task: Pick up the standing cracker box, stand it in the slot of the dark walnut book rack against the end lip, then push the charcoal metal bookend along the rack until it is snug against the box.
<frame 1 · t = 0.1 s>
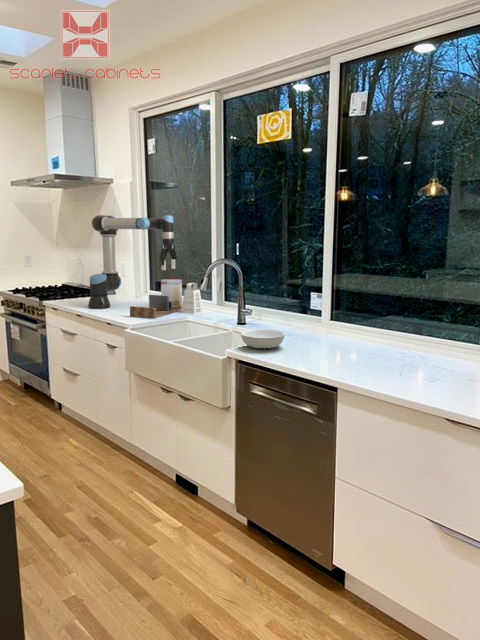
hand: (168, 269, 329), 28 cm above the countertop, tool pointing down, fingers open, 13 cm apart
cracker box: (172, 309, 336), on the countertop
serving bowl: (262, 347, 228), on the countertop
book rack: (154, 313, 315), on the countertop
grater: (192, 312, 322), on the countertop
bookend: (161, 301, 322), point 7 cm above the countertop, slide at 0.0 cm
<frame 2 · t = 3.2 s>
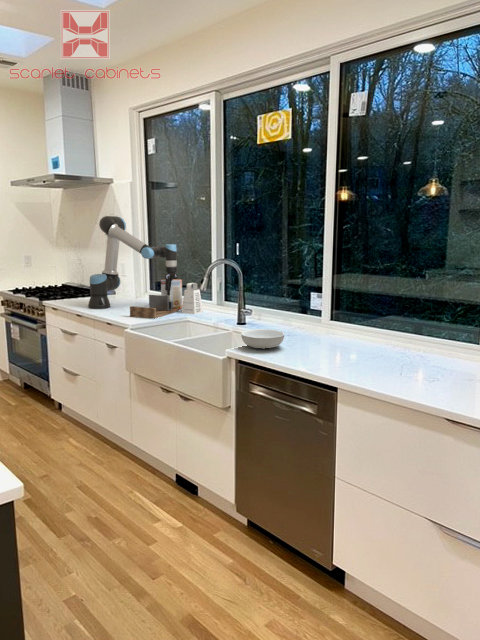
hand: (171, 298, 335), 7 cm above the countertop, tool pointing down, fingers closed on cracker box, 7 cm apart
cracker box: (172, 309, 336), on the countertop, touching gripper
everything else where it was.
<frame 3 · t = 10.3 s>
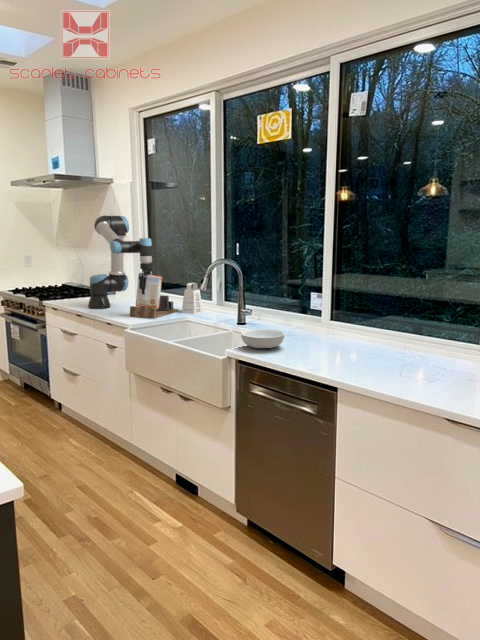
hand: (147, 298, 304), 11 cm above the countertop, tool pointing down, fingers closed on cracker box, 7 cm apart
cracker box: (147, 307, 305), point 6 cm above the countertop, touching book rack, gripper
everything else where it was.
when the fingers open (11 cm above the countertop, at t = 10.6 s): cracker box drops 4 cm, resting on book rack.
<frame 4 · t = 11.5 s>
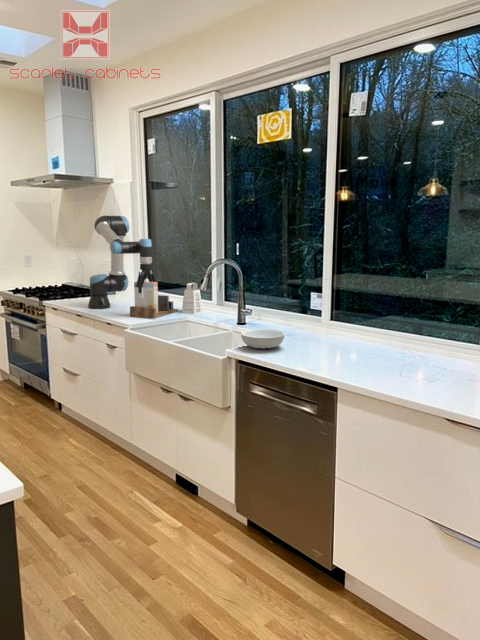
hand: (146, 296, 304), 13 cm above the countertop, tool pointing down, fingers open, 13 cm apart
cracker box: (146, 314, 306), point 1 cm above the countertop, touching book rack
everything else where it was.
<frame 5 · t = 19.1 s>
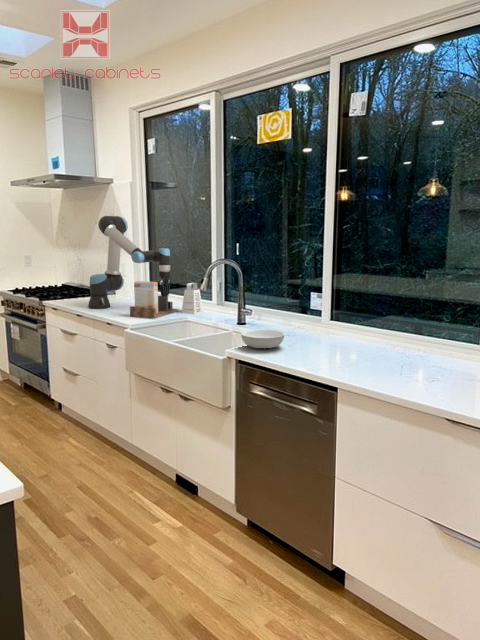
hand: (165, 305, 327), 4 cm above the countertop, tool pointing down, fingers closed
bookend: (161, 302, 321), point 7 cm above the countertop, slide at 1.1 cm, touching gripper
everything else where it was.
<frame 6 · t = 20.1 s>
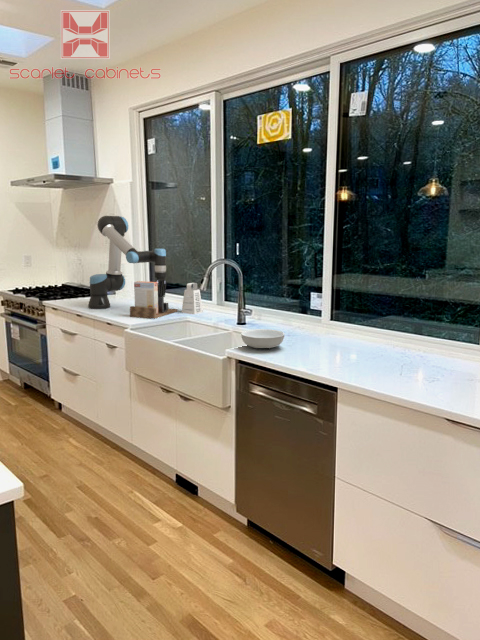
hand: (161, 306, 322), 4 cm above the countertop, tool pointing down, fingers closed
bookend: (156, 303, 316), point 7 cm above the countertop, slide at 6.7 cm, touching gripper
everything else where it was.
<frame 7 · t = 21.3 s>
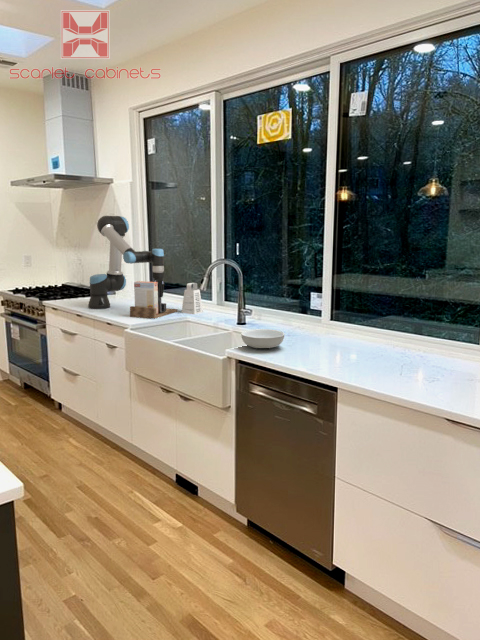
hand: (159, 307, 319), 4 cm above the countertop, tool pointing down, fingers closed
bookend: (154, 303, 313), point 7 cm above the countertop, slide at 9.7 cm, touching gripper
everything else where it was.
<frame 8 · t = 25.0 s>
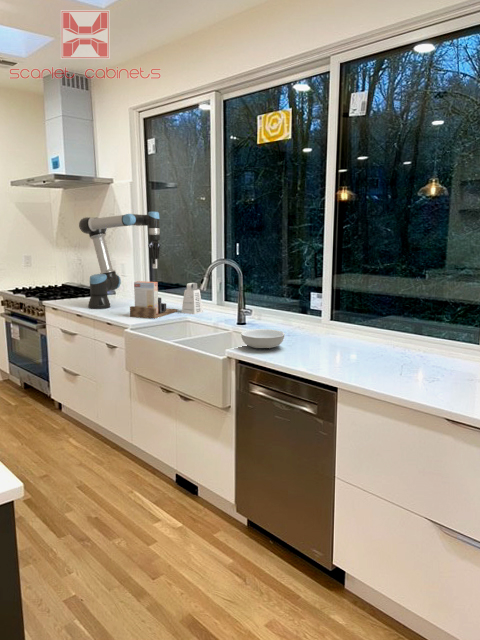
hand: (155, 268, 333), 28 cm above the countertop, tool pointing down, fingers closed
bookend: (154, 303, 313), point 7 cm above the countertop, slide at 9.7 cm
everything else where it was.
at the end: cracker box inside the target area (0.6 cm from its centre), point 1.3 cm above the countertop; cracker box tilted 0°; bookend slide at 9.7 cm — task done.
